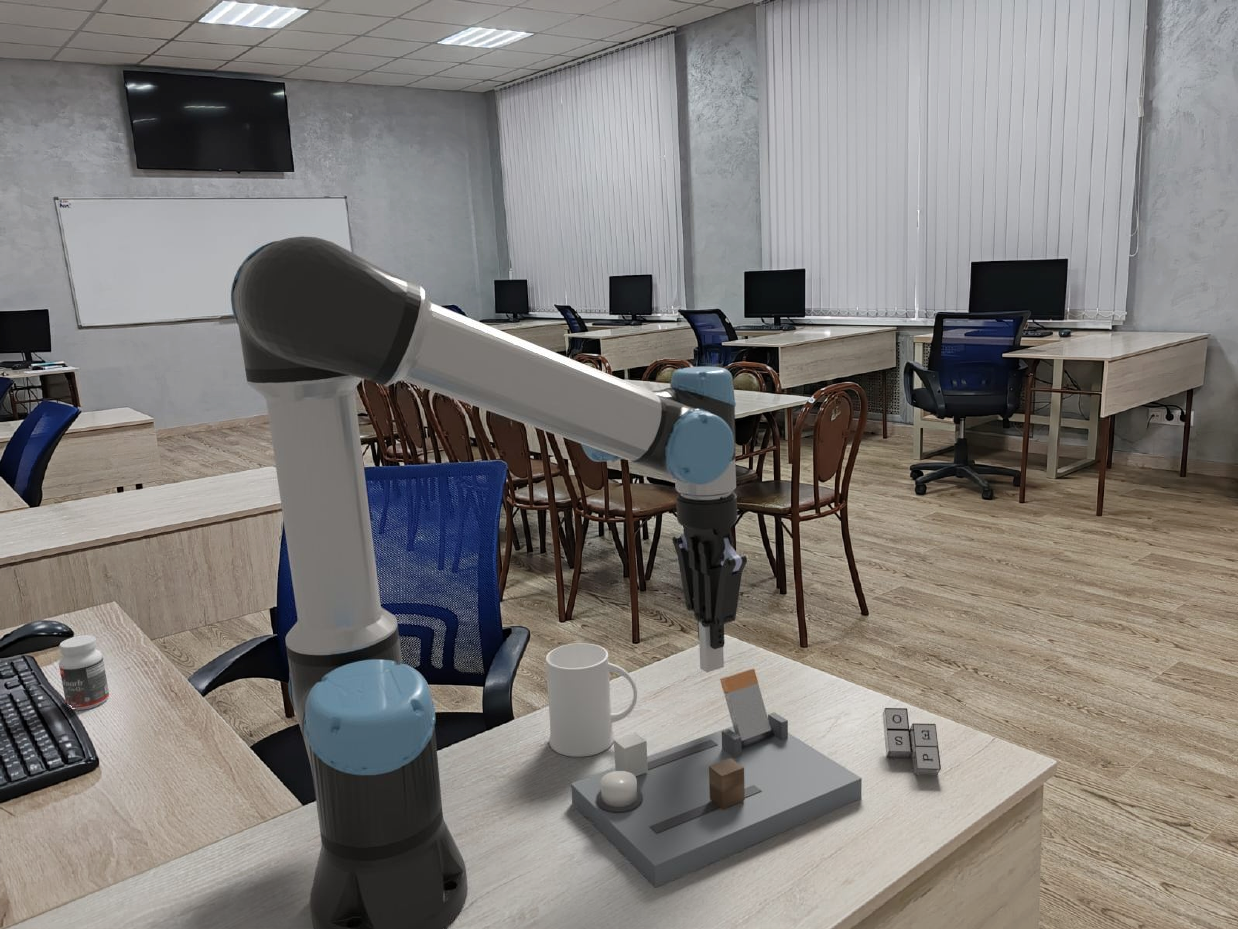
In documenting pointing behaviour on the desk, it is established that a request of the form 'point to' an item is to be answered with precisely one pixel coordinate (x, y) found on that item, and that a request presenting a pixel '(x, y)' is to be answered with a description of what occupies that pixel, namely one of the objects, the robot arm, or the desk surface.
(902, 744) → the building blocks
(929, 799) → the desk surface
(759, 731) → the lever
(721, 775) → the slider
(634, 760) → the slider
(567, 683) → the mug
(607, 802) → the button
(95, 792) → the desk surface
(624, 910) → the desk surface
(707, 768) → the panel
